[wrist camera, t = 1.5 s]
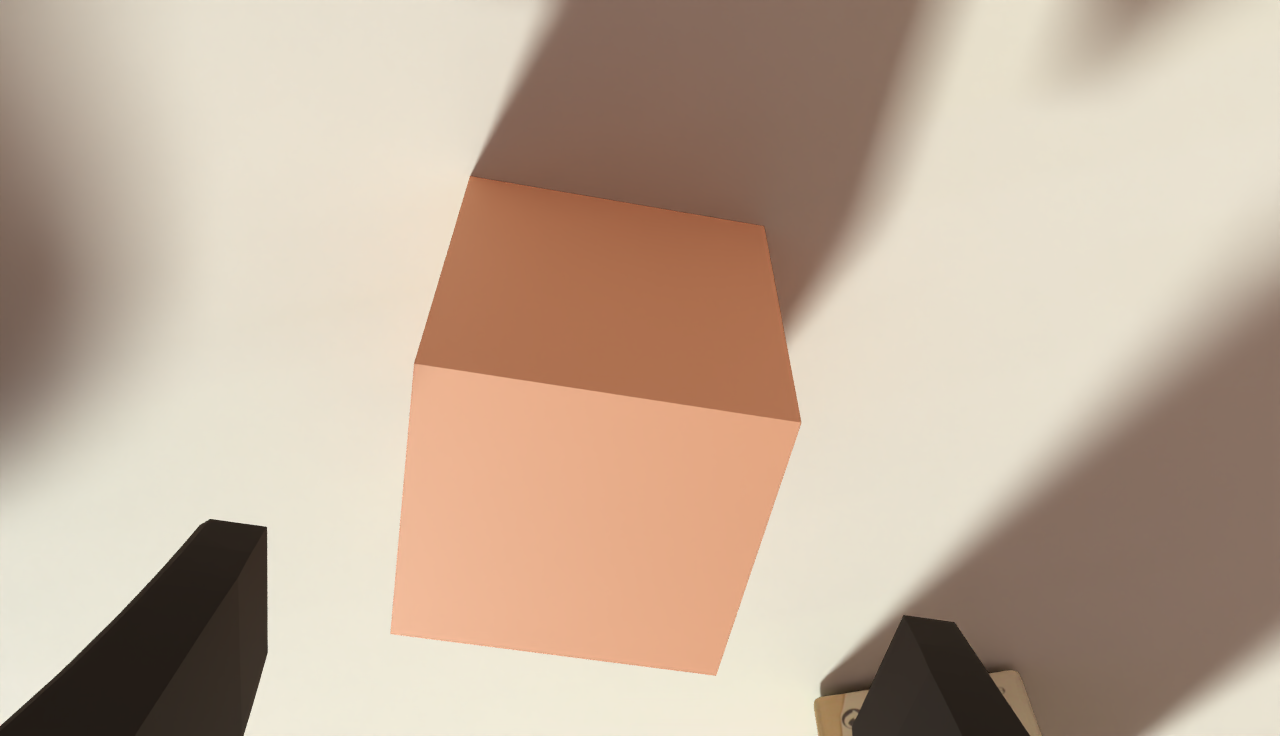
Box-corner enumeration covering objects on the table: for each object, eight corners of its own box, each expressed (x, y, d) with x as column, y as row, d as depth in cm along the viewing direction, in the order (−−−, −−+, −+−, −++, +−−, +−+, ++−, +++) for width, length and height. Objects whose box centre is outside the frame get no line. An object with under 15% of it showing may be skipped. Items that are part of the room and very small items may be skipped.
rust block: (701, 449, 20) (716, 675, 16) (444, 411, 19) (390, 634, 15) (763, 223, 17) (801, 422, 13) (470, 174, 17) (414, 363, 13)
